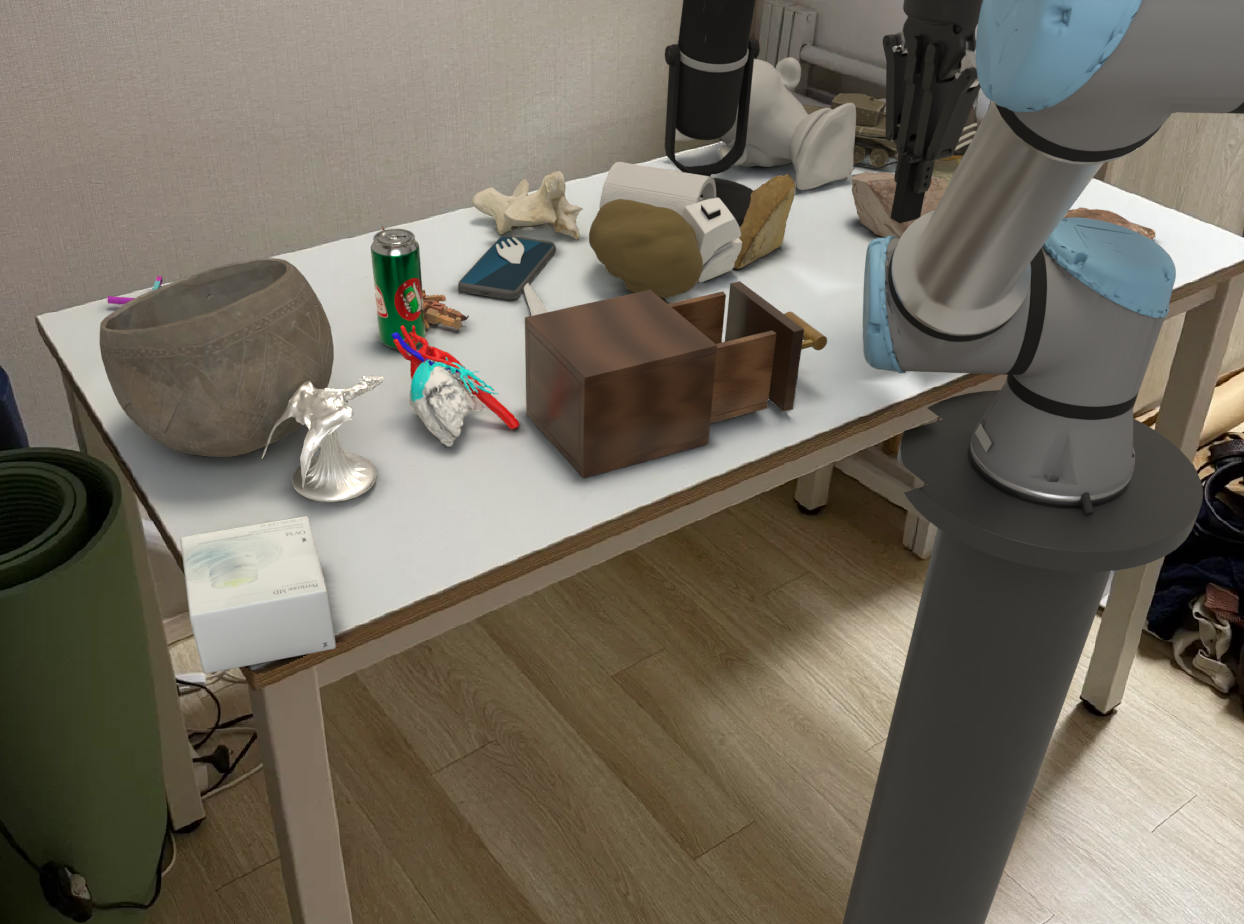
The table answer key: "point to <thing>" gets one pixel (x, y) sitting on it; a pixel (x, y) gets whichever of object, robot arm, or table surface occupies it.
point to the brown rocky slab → (1110, 220)
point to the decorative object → (531, 206)
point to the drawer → (750, 350)
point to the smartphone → (506, 269)
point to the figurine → (328, 443)
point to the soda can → (397, 284)
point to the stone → (887, 201)
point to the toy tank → (866, 129)
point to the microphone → (712, 87)
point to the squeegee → (125, 299)
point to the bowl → (218, 356)
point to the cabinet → (619, 381)
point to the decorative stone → (647, 247)
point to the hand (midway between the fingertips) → (905, 217)
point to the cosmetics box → (256, 594)
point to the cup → (656, 186)
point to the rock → (766, 219)
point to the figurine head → (792, 129)
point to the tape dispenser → (714, 236)
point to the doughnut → (965, 138)
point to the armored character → (440, 311)
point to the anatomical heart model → (445, 389)
